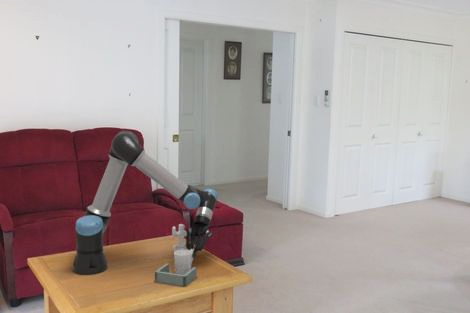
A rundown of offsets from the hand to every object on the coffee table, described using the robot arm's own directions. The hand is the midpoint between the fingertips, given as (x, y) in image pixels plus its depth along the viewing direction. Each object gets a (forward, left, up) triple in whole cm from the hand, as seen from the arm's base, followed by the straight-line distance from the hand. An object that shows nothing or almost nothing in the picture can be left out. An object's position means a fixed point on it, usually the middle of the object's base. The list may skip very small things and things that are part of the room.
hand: (188, 263), depth 217 cm
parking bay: (-1, -11, -3) cm, 12 cm away
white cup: (-1, -5, -4) cm, 6 cm away
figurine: (-13, +20, -4) cm, 24 cm away
